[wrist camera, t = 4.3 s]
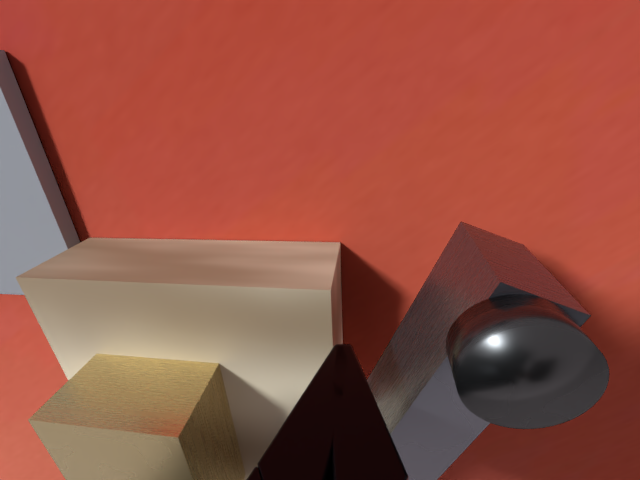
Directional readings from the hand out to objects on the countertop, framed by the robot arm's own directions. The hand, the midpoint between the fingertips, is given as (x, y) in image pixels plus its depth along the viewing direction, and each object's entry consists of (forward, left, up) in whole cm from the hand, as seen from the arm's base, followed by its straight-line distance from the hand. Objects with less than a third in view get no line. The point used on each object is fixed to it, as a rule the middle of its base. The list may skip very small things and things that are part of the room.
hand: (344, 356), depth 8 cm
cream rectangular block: (-7, +5, -4) cm, 10 cm away
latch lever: (-4, 0, -1) cm, 4 cm away
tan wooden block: (-5, +6, -1) cm, 8 cm away
